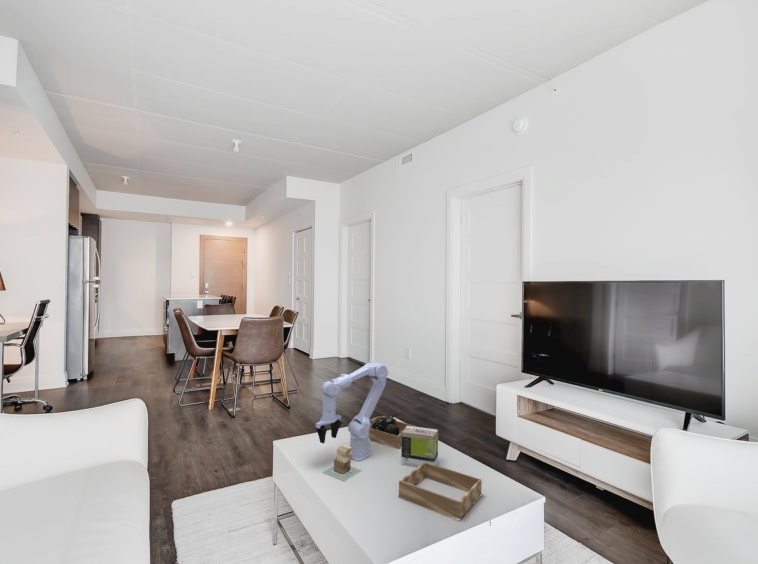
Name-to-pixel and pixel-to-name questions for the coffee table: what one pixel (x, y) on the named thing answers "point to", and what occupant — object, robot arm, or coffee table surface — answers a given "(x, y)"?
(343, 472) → the walnut block
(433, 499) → the box
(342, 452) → the maple block
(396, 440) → the camera crate
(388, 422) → the film camera
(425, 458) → the tea box
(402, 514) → the coffee table surface
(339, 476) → the build mat
